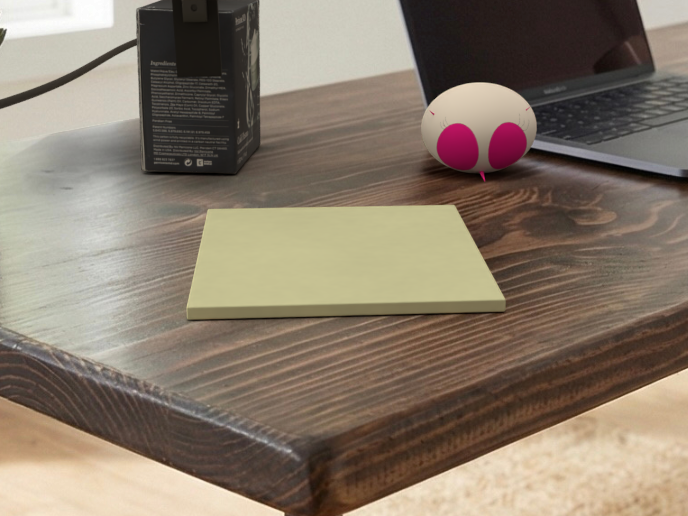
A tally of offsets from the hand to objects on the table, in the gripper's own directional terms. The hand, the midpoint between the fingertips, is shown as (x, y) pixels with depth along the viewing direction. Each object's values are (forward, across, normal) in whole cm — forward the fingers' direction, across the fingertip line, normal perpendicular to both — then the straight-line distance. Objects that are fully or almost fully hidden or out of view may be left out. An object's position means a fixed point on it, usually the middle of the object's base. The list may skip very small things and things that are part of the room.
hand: (205, 63), depth 87 cm
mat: (+7, -26, -8) cm, 28 cm away
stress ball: (+7, -6, -18) cm, 20 cm away
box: (+7, 0, 0) cm, 7 cm away
